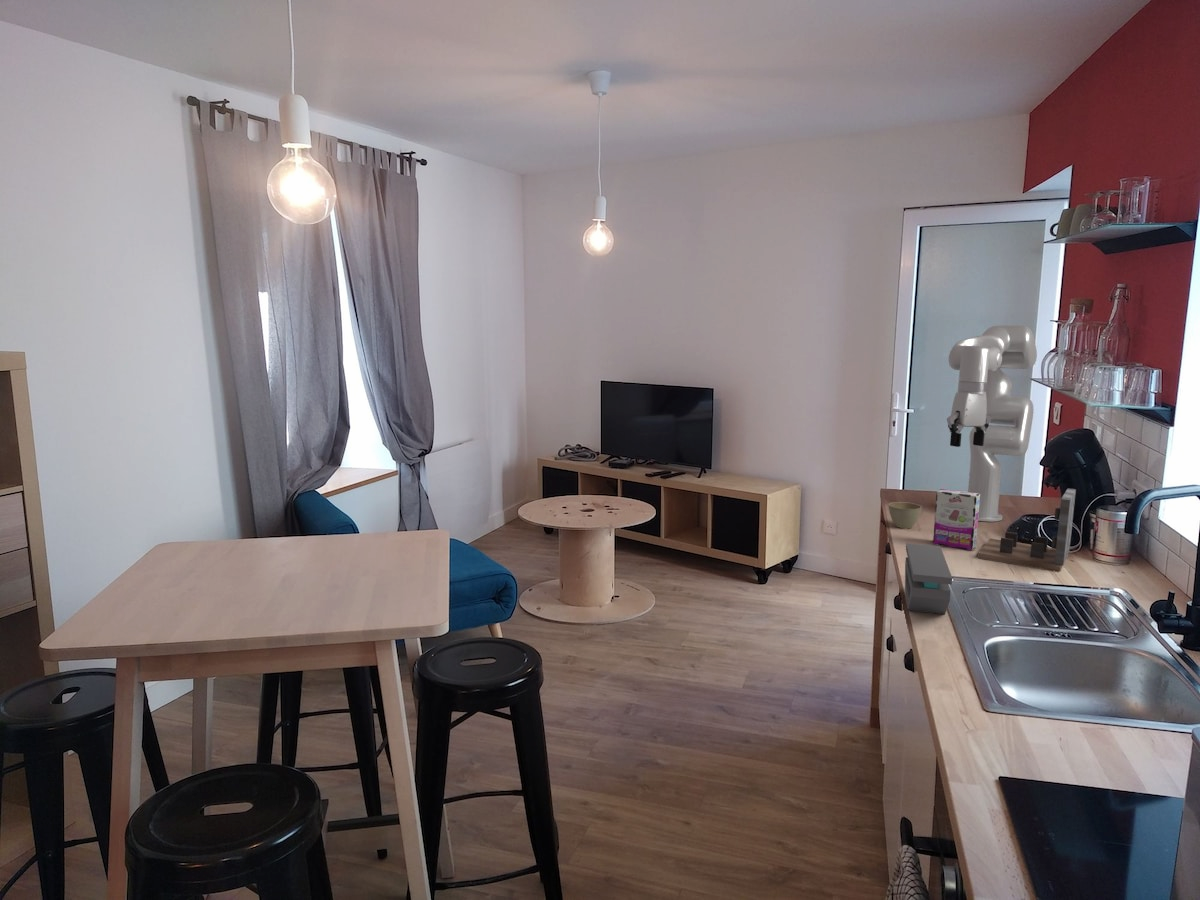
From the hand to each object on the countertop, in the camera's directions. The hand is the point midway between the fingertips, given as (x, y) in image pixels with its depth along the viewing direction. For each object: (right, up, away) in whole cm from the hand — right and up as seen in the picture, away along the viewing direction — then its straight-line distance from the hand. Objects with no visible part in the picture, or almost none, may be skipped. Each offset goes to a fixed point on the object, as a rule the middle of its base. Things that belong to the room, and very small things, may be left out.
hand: (966, 445), depth 226 cm
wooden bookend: (+11, -31, -11) cm, 35 cm away
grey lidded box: (-32, -38, -46) cm, 68 cm away
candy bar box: (-4, -30, 0) cm, 30 cm away
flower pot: (-10, -26, +21) cm, 35 cm away
